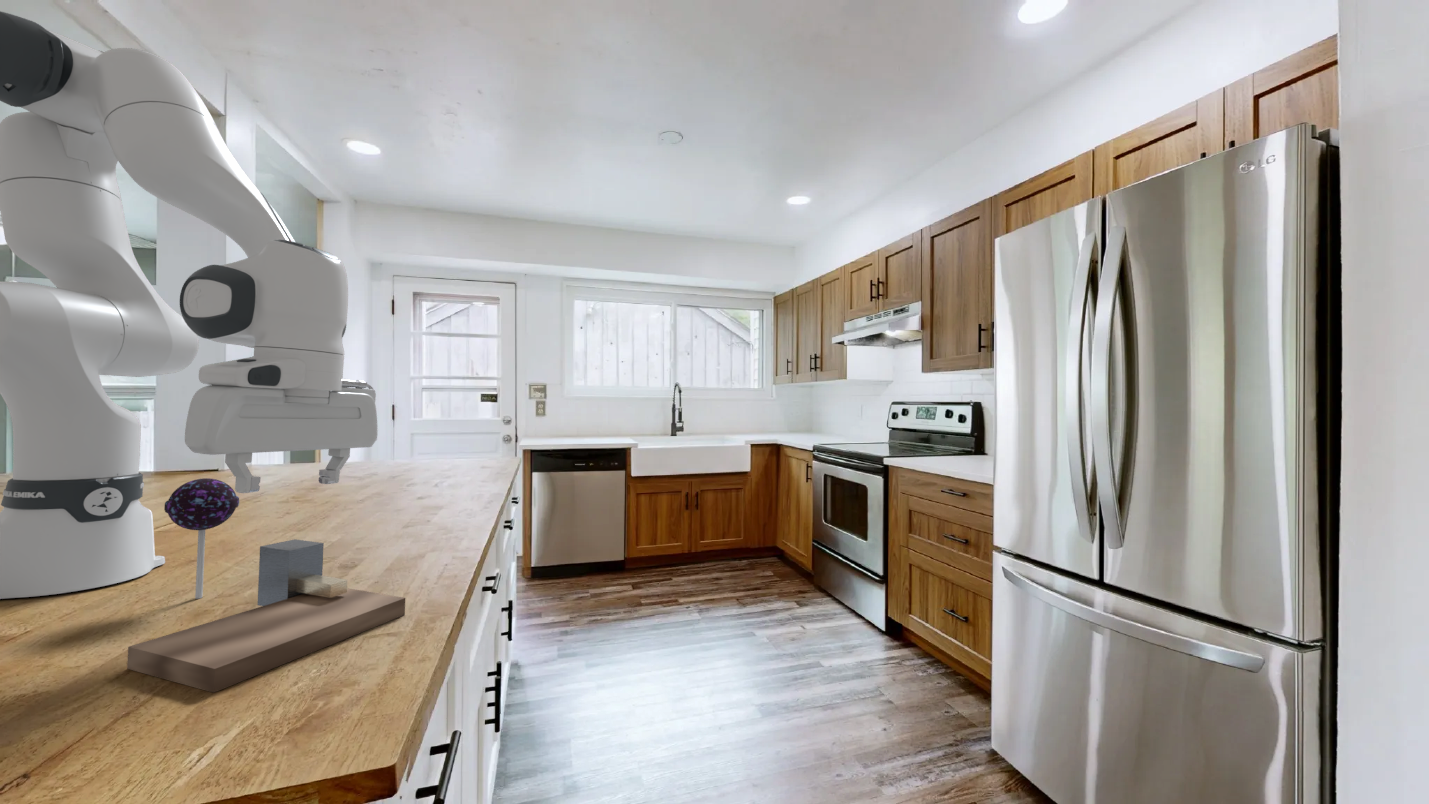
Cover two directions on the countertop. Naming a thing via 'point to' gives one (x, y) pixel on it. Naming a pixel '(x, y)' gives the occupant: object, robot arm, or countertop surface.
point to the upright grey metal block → (294, 572)
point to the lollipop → (201, 512)
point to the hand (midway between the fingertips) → (290, 487)
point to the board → (261, 638)
